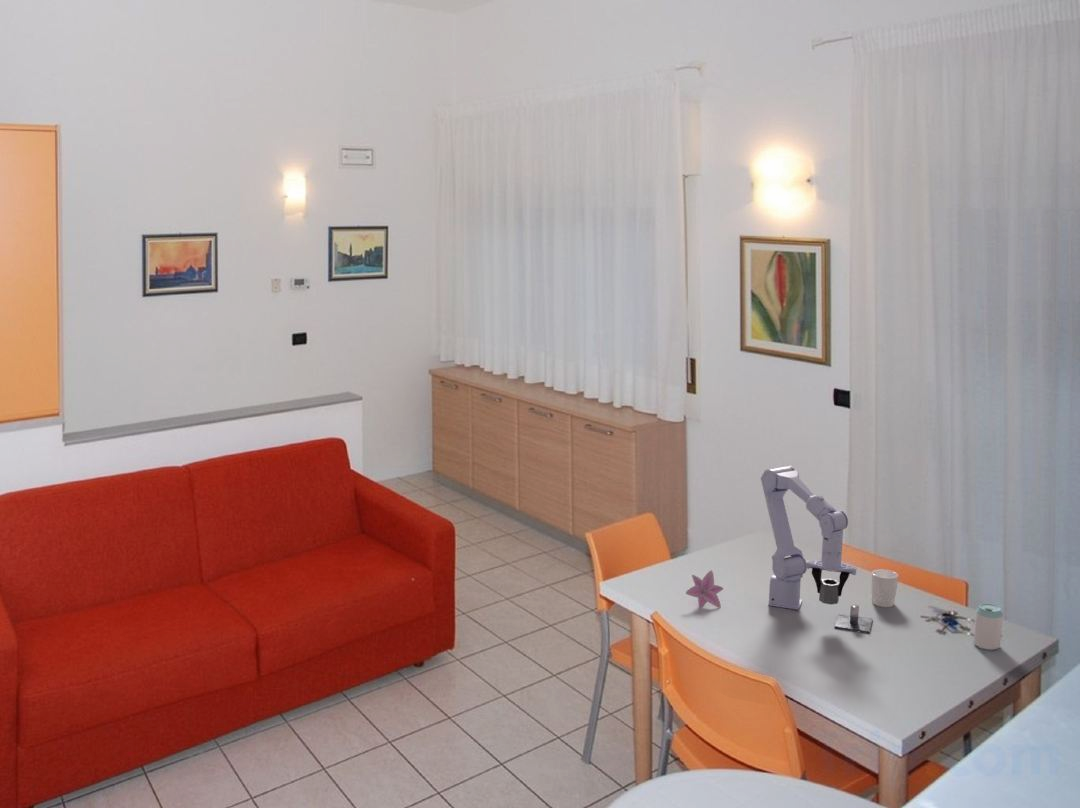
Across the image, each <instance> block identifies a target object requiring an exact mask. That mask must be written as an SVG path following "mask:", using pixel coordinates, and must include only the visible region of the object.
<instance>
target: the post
mask: <svg viewBox="0 0 1080 808" xmlns="http://www.w3.org/2000/svg"><path fill="white" fill-rule="evenodd" d="M849 610H850V613H849V614H844V613H838V614H837V617H836V621H835V625H834V628H835V629H837V630H844V629H845V630H844V631H850V630H853V632H857V631H860V632H859V633H863V632H866V633H865V634H870V632H871V627H872V623H873V618H870V617H864V616H859V615H860V614H859V612H860V611H859V610H860V606H859V605H858V604H851V605H850V609H849Z"/></svg>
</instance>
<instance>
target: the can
mask: <svg viewBox="0 0 1080 808" xmlns="http://www.w3.org/2000/svg"><path fill="white" fill-rule="evenodd" d="M978 606H979V607H978V608H977V609H976V610H975V622H974V629H973V630H974V631H973V641H972V642H973V644H974V645H975V646H976V647H977V646H978V647H977V648H979V649H981V650H985V651H995V650H998V649H999V648H1000V647H1001V641H1002V640H1001V639H1002V638H1001V637H1002V631H1003V630H1002V629H1003V628H1002V627H1003V619H1004V614H1003V612H1002V608H1001V607H999V605H997V604H992V603H981V604H980V605H978ZM994 649H995V650H994Z"/></svg>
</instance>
